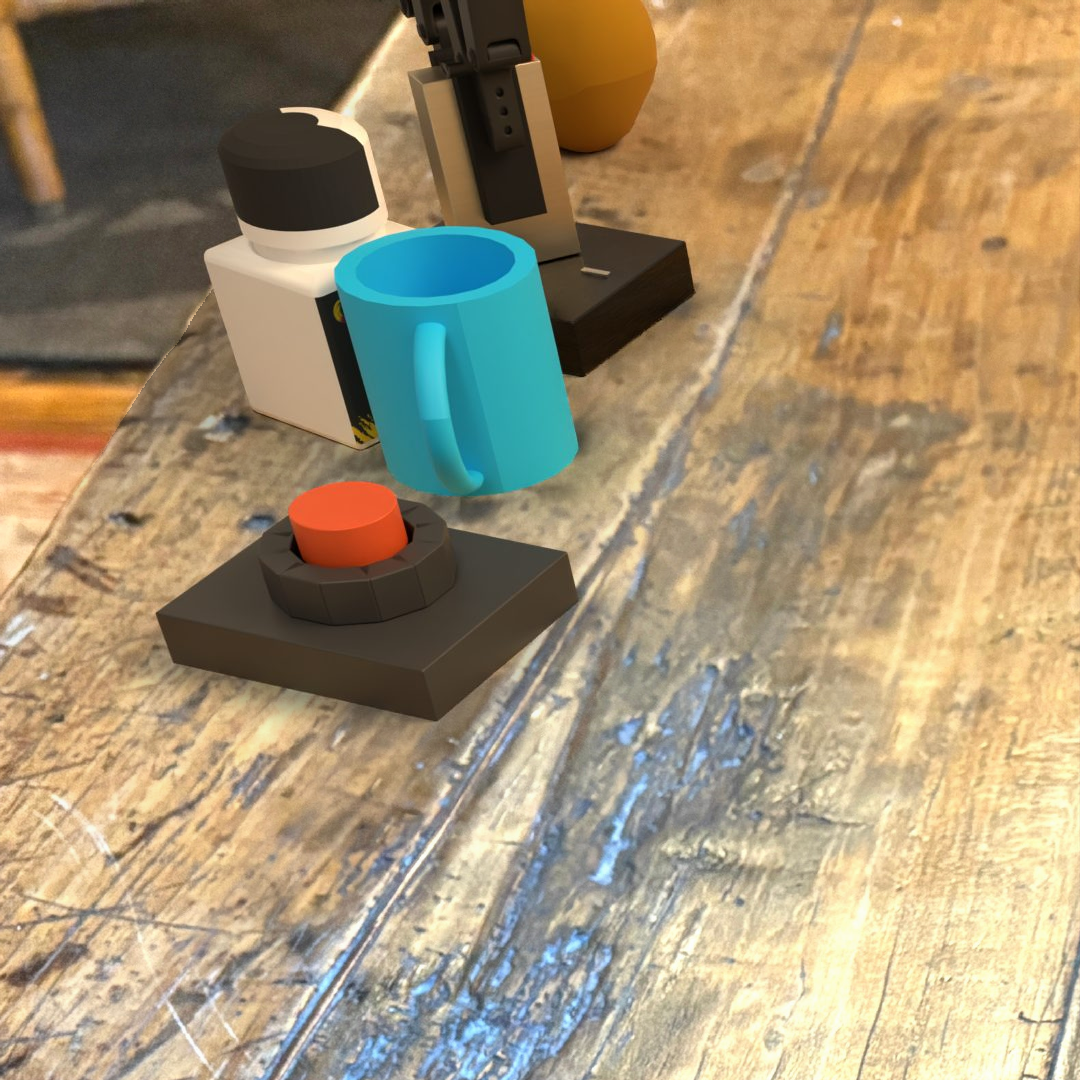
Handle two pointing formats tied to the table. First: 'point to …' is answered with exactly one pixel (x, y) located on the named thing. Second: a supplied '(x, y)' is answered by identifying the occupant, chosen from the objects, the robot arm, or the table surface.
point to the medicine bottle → (298, 265)
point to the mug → (458, 359)
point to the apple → (593, 66)
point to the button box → (373, 616)
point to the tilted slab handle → (455, 170)
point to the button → (347, 524)
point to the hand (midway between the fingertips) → (505, 206)
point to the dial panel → (611, 291)
